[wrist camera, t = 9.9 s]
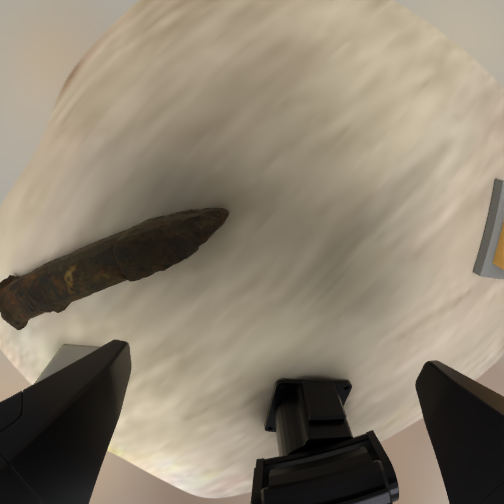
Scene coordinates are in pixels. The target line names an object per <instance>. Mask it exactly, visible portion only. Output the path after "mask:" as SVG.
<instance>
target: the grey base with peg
mask: <svg viewBox="0 0 504 504" xmlns="http://www.w3.org/2000/svg"><path fill="white" fill-rule="evenodd" d="M503 221H504V181H502V180H497V179H495V183H494V189H493V194H492V200H491V205H490V210H489V214H488V219H487V223H486V227H485V231H484V235H483V239H482V243H481V247H480V250H479V254H478V257H477V260H476V264H475V267H474V270H473V272H474V273H476V274H477V275H479V276H483V277H490V278H498V279H504V270H503V269H502V268H500V267H498V266H496V265H495V264H493V263H492V262H493V259H494V256H495V252H496V249H497V245H498V241H499V238H500V234H501V230H502V226H503Z"/></svg>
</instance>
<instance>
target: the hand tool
mask: <svg viewBox="0 0 504 504" xmlns="http://www.w3.org/2000/svg"><path fill="white" fill-rule="evenodd" d="M228 214H229V211H227V210H226V209H223V208H206V209H201V210H192V209H191V210H187V211H182V212H178V213H175V214H171V215H168V216H161V217H157V218H154V219H148V220H146V221H144V222H143V223H141V224H140V225H137V226H134V227H132V228H130V229H128V230H126V231H123V232H120V233H118V234H115V235H113V236H110V237H108V238H105V239H102V240H100V241H98V242H95V243H93V244H90V245H88V246H86V247H83V248H81V249H79V250H77V251H75V252H73V253H71V254H69V255H67V256H64V257H62V258H60V259H55V260H54V261H52V262H48V263H46V264H44V265H43V266H41V267H40V268H37V269H35V270H34V271H32V272H31V273H29V274H27V275H25V276H23V277H20V278H19V277H15V276H11V275H9V277H8V278H7V279H4V280H3V281H2V282H0V312H1V317H2V318H3V319H4V320H5V321H6V322H7V323H9V324H10V325H11V326H13V327H14V328H16V329H17V330H21V329H22V328H24V327H25V326H26V325H27V323H28V320H29V319H30V318H33V317H35V316H38V315H40V314H43V313H45V312H52V311H55V312H57V313H59V312H61V311H63V310H65V309H66V308H67V306H68V305H69V304H70V303H71V302H73V301H75V300H78V299H81V298H84V297H86V296H89V295H91V294H93V293H95V292H98V291H101V290H103V289H105V288H108V287H110V286H113V285H115V284H118V283H121V282H123V281H126V280H129V281H131V282H132V281H136V280H139V279H142V278H144V277H148V276H150V275H152V274H154V273H155V272H158V271H164V270H166V269H167V268H169V267H170V266H172V265H174V264H176V263H179V262H181V261H182V260H184V259H186V258H188V257H189V256H191V255H192V254H193V253H195V252H196V251H197V250H198V247H199V246H200V245H201V244H203V243H204V242H206V241H207V240H208V238H209V237H210V236H211V235H212V234H213V233H214V232H215V231H216V230H217V229H218V228H219V227H220V226H221V225H222V224H223V223H224V221H225V220H226V218H227V216H228Z"/></svg>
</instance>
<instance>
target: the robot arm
mask: <svg viewBox="0 0 504 504" xmlns="http://www.w3.org/2000/svg"><path fill="white" fill-rule="evenodd" d="M130 374H131V356H130V347H129V344H128V343H127V342H125V341H120V340H112V341H111V342H109V343H107V344H105V345H104V346H102V347H100V348H98V349H96V350H95V351H93V352H91V353H89V354H87V355H86V356H84V357H82V358H80V359H78V360H77V361H75V362H73V363H71V364H69V365H68V366H66V367H64V368H62V369H60V370H59V371H57V372H55V373H53V374H51V375H50V376H48V377H46V378H44V379H42V380H41V381H39V382H37V383H35V384H33V385H31V386H30V387H28V388H26V389H24V390H23V392H22V391H20V392H19V393H17V394H15V395H13V396H11V397H9V398H7V399H5V400H3V401H1V402H0V504H89V501H90V498H91V495H92V492H93V489H94V486H95V483H96V480H97V477H98V474H99V471H100V468H101V466H102V462H103V460H104V457H105V454H106V451H107V449H108V446H109V443H110V441H111V438H112V435H113V433H114V430H115V427H116V425H117V422H118V419H119V416H120V412H121V409H122V405H123V401H124V397H125V393H126V389H127V385H128V381H129V377H130ZM281 385H284V386H281ZM415 385H416V391H417V394H418V398H419V402H420V406H421V409H422V413H423V417H424V421H425V424H426V428H427V431H428V434H429V437H430V440H431V442H432V445H433V449H434V451H435V455H436V458H437V461H438V464H439V467H440V471H441V474H442V477H443V481H444V485H445V488H446V491H447V495H448V499H449V503H450V504H504V397H503V396H502V395H500V394H498V393H496V392H494V391H492V390H490V389H488V388H487V387H485V386H483V385H481V384H479V383H478V382H476V381H474V380H472V379H470V378H469V377H467V376H465V375H463V374H461V373H459V372H458V371H456V370H454V369H452V368H450V367H448V366H447V365H445V364H443V363H441V362H439V361H436V360H435V361H427V362H426V363H425V364H424V366H423V368H422V370H421V372H420V374H419V376H418V378H417V380H416V384H415ZM345 386H346V387H345ZM351 388H352V385H351V383H350V382H349V381H306V380H279V381H277V382H276V385H275V388H274V392H273V396H272V400H271V404H270V407H269V411H268V415H267V418H266V422H265V430H266V431H269V432H277V440H278V449H279V457H274V458H269V459H264V458H263V459H257V461H256V468H254V477H253V487H252V497H251V502H250V504H392V502H395V501H398V499H399V487H398V482H397V478H396V474H395V471H394V469H393V466H392V464H391V462H390V460H389V458H388V456H387V454H386V453H385V451H384V449H383V447H382V445H381V444H380V442H379V440H378V438H377V437H376V435H375V433H374V431H373V430H372V431H369V432H366V434H364V435H360V436H357V437H354V438H353V436H352V433H351V430H350V427H349V424H348V421H347V419H346V413H345V411H344V408H343V406H344V404H345V401H346V399H347V397H348V395H349V393H350V390H351Z"/></svg>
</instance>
